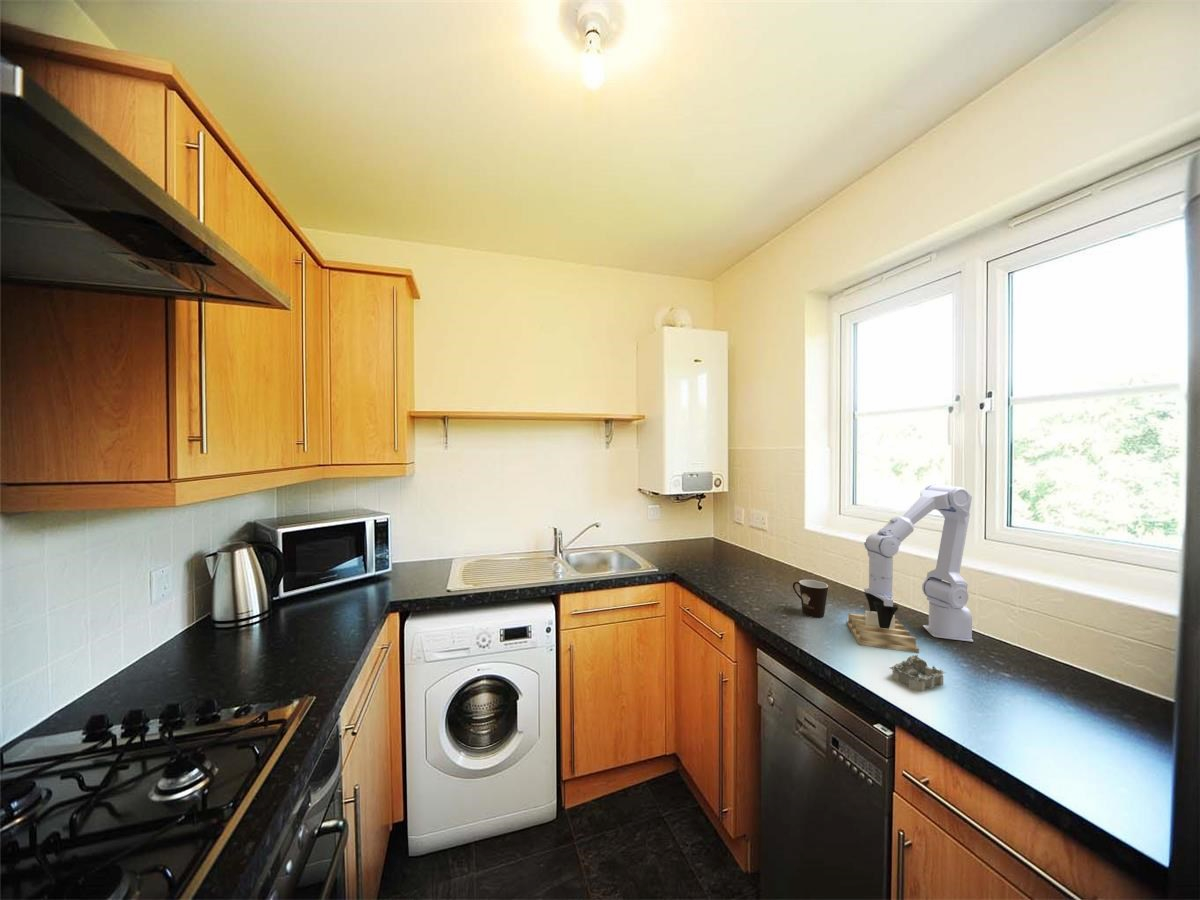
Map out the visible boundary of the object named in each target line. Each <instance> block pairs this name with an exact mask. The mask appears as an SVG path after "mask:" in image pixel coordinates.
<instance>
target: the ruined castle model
mask: <svg viewBox="0 0 1200 900" xmlns="http://www.w3.org/2000/svg"><path fill="white" fill-rule="evenodd" d="M918 656H919V655H918V654H915V655H911V656H909V657H907V659H906V660H902V661H900V662H899V663H895V664H894V665H893V666H891V667H889V669H890V670H891V671H892V678H893V680H894V681H895V682H897V683H905V684H907V685H908V688H909V689H911V690H916V691H921V692H925V691H926V688H930V689H933V688H935V685H939V686H944V676H943V675H944V674H946V673H947V672H945V671H943V670H942V669H940V670H939V669H937V668H936V666H932V667H928V664H927V662H926V661H925V660H923V659H922V658H920V657H918ZM919 673H923V674H922V676H921V675H920V674H919Z"/></svg>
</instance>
